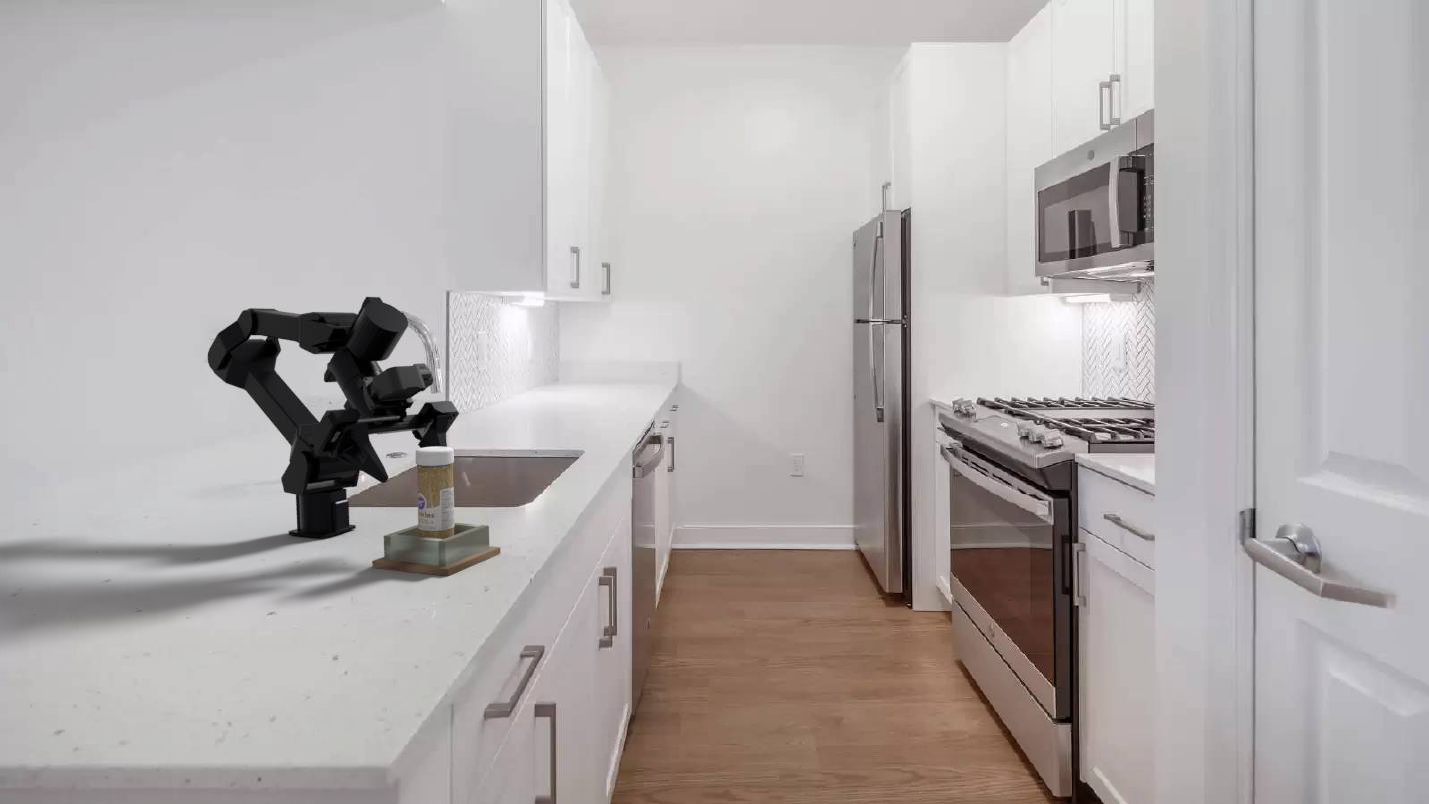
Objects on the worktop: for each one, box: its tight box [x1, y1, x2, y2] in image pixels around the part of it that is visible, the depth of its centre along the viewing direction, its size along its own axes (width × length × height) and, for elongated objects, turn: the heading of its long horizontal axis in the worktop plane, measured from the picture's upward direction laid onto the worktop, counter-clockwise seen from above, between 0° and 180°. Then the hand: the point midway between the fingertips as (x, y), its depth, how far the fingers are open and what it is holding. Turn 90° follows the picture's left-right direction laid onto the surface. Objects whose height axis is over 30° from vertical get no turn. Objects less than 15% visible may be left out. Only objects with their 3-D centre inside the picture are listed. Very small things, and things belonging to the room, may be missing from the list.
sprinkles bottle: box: [415, 446, 456, 539], centre depth 109 cm, size 5×5×13 cm
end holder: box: [371, 522, 501, 577], centre depth 109 cm, size 11×11×4 cm
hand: (417, 475), depth 111 cm, fingers open, 9 cm apart
